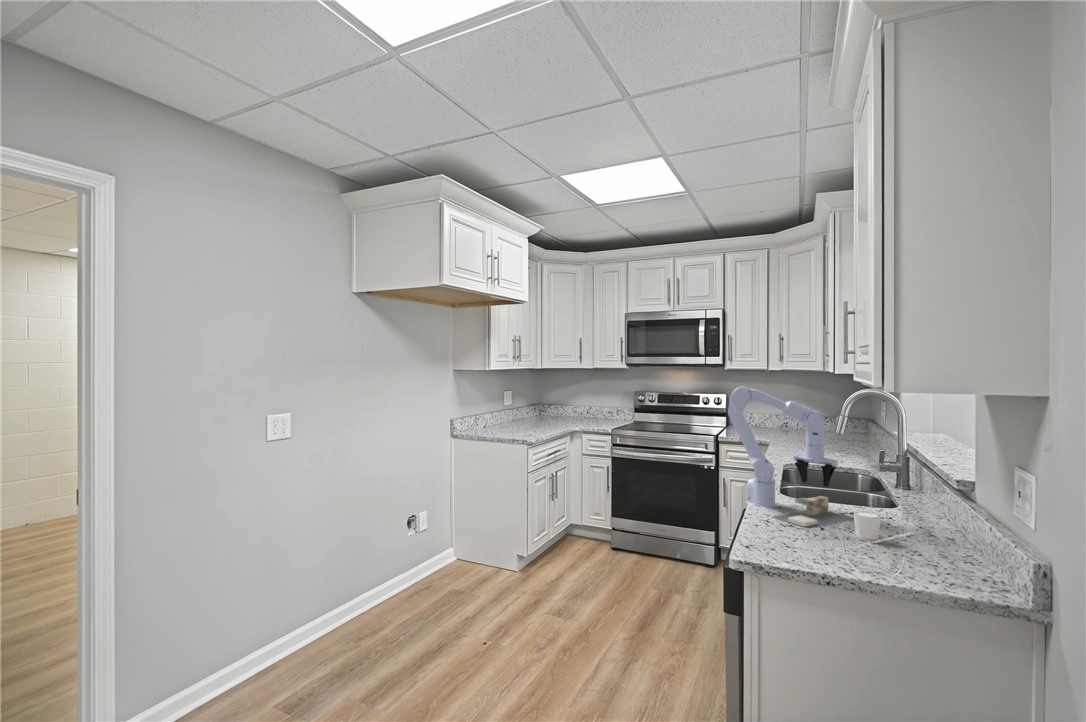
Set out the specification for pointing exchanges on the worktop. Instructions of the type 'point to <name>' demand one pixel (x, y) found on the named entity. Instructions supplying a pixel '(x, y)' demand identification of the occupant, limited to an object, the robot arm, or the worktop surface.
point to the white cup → (867, 525)
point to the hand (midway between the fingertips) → (815, 484)
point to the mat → (816, 518)
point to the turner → (814, 504)
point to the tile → (802, 521)
